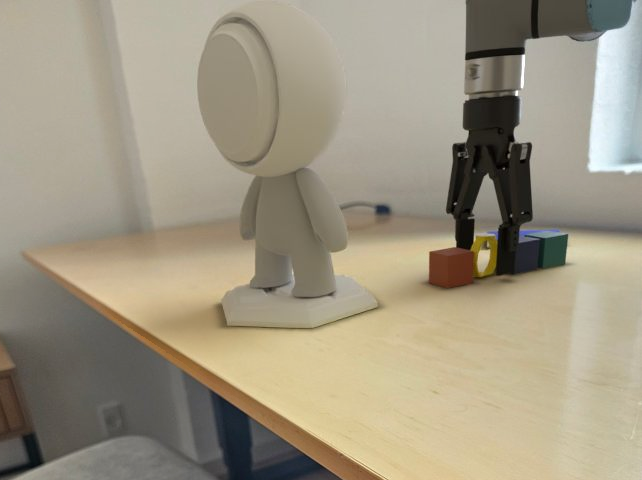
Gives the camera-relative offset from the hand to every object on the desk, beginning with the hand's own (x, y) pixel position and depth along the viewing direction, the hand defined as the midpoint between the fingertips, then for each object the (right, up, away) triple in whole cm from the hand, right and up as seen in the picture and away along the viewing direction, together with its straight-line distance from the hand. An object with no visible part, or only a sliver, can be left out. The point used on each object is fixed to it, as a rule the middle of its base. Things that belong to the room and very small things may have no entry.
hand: (483, 268), depth 97 cm
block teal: (+10, +2, +4) cm, 12 cm away
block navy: (+6, +1, +3) cm, 6 cm away
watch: (0, -1, +1) cm, 1 cm away
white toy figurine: (-28, -7, -7) cm, 29 cm away
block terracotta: (-5, -3, -2) cm, 6 cm away
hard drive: (+13, +10, +21) cm, 26 cm away
